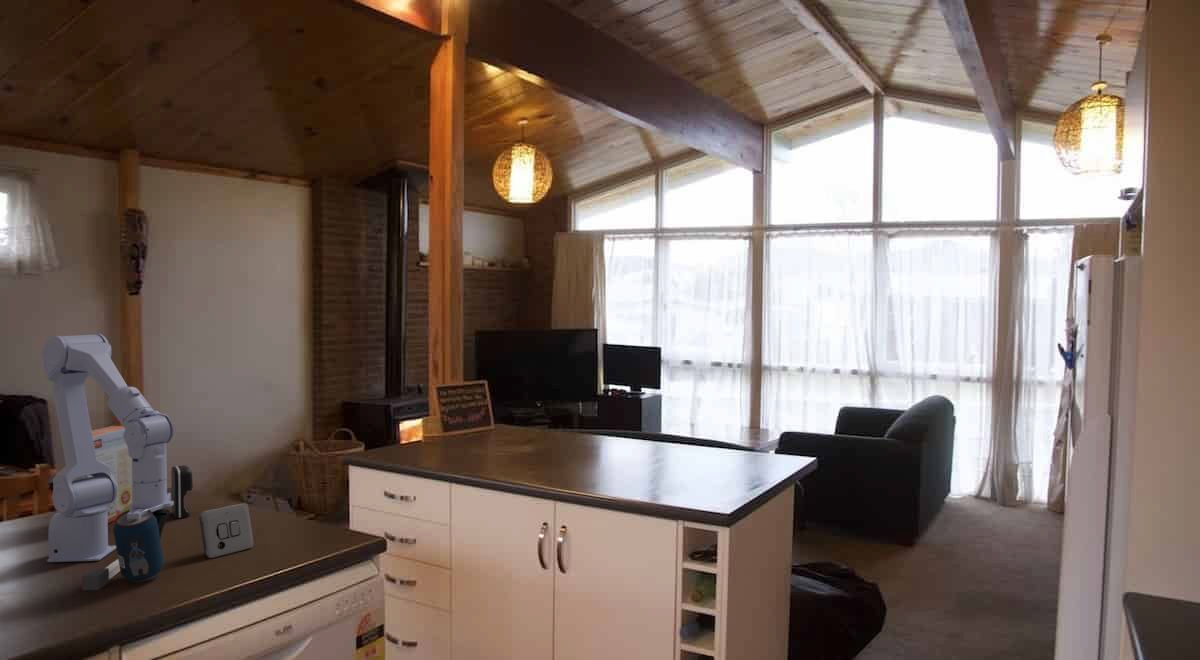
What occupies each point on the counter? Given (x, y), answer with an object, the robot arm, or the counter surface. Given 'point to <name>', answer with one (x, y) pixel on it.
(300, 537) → the counter surface
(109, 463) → the cracker box
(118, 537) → the soda can
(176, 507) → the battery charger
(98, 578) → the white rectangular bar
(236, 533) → the electrical switch
